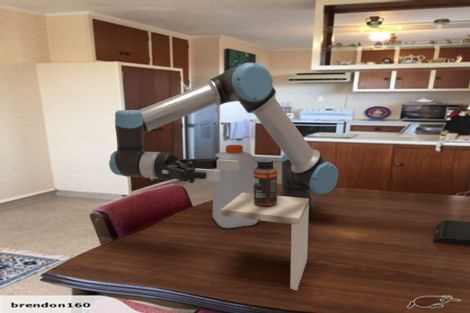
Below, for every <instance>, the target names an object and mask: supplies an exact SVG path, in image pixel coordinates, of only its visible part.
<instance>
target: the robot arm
mask: <svg viewBox="0 0 470 313" xmlns="http://www.w3.org/2000/svg"><path fill="white" fill-rule="evenodd" d="M276 95H277V91H276V89H275V87H274V86H273V77H272V74H271V72H270V71H269V69H268V68H266V66H264V65H262V64H260V63H257V62H246V63H242V64H240V65H237V66H233V67H231V68H229V69H227V70H226V71H224V72H222V73H220V74H218V75H217V76H214V77H212V78H210V79H207V82H206V83H205V84H202V85H200V86H197V87H195V88H191V89H189V90H187V91H184V92H182V93H179V94H177V95H174V96H171V97H169V98H166V99H164V100H161V101H158V102H156V103H154V104H151V105H148V106H146V107H143V108H140V109H138V110H137V109H127V110H125V109H124V110H123V109H120V110H116V112H115V114H114V117H115V118H114V123H115V124H114V127H115V134H116V150H115V151H113V152H112V153H111V155H110V159H109V161H108V166H109V169H110V170H111V172H112V173H113V174H114V175H117V176H122V177H127V178H128V177H130V178H131V177H133V178H147V179H148V178H149V179H150V180H151V181H153V180H154V179H159V180H165V181H166V180H167V181H168V180H169V181H171V180H173V179H175V180H177V181H182V182H185V183H186V182H189V184H194V183H195V180H196V181H207V182H214V181H216V182H219V181H220V170H235V171H238V170H239V161H234V160H219V158H218V157H216V158H213V157H212V158H211V157H210V158H180V159H179V160H178V158H177V156H176V154H174V153H172V152H159V151H145V145H144V142H145V141H144V134H145V133H148V132H149V131H152V130H154V129H157V128H160V127H162V126H164V125H167V124H169V123H172V122H174V121H176V120H179V119H182V118H184V117H186V116H189V115H193V113H196V112H199V111H201V110H204V109H206V108H209V107H212V106H214V105H215V106H222V105H224V104H227V103H232V102H239V104H240V105H241V106H242V108H244V110H245V111H246V113H248V114H254V116H255V117H256V118H257V120H258V121H259V122H260V123H261V125H262V126H263V127H264V129H265V130H266V131H267V133H268V134H269V135H270V137H271V138H272V139H273V140H274V142H275V144H276V145H277V146H278V147H279V149H280V150H281V151H282V152H283V154H282V156H281V190H280V193H279V195H278V196H286V197H297V198H307V199H309V212H308V214H309V213H312V212H314V210H315V201H314V197H313V195H312V193H314V194H318V195H325V194H328V193H330V192H331V191H332V190H333V189H334V188H335V187H336V185H337V183H338V179H339V171H338V168H337V167H336V165H335V164H333V163H331V162H329V161H327V160H326V159H325V158H324V156H323V155H322V154H321V152H320V151H319V150H318V149H312V147H311V146H310V145H309V143H308V142H307V140H306V139H305V137H304V136H303V135H302V133H301V132H300V130H298V128H297V127H296V125H295V124H294V122H293V121H292V119H291V118H290V117H289V115H288V114H287V112H286V111H285V110H284V108H283V107H282V106H281V104H280V103H279V101H278V100H277V99H276ZM215 168H217V169H220V170H215Z"/></svg>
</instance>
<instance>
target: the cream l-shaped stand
mask: <svg viewBox="0 0 470 313" xmlns="http://www.w3.org/2000/svg"><path fill="white" fill-rule="evenodd" d="M308 212H309V199H307V198H297V197H286V196H279V195H277V203H276V204H275V205H273V206H265V207H264V206H258V205H256V204H255V203H254V194H253V193H241V194H240V195H239V196H237V197H236V198H235V199H234V200H232V201H231V202H230V203H229V204H227V205H226V206H225V207H224V208H222V209H221V216H229V217H237V218H246V219H254V220H258V221H264V222H272V223H279V224H287V225H291V230H290V232H291V239H290V240H291V242H290V279H289V280H290V283H289V284H290V286H289V287H290V288H289V289H293V290H292V291H295V290H297V291H298V290H299V287H298V286H300V284H301V281H300V280H302V277H303V273H304V270H305V267H306V265H307V261H308V243H309V242H308V240H309V239H308V237H309V213H310V212H309V213H308ZM299 283H300V284H299Z"/></svg>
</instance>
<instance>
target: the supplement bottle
mask: <svg viewBox="0 0 470 313" xmlns="http://www.w3.org/2000/svg"><path fill="white" fill-rule="evenodd" d="M256 163H257V164H256V165H257V166H256V167H255V169H254V203H255V204H256V205H258V206H264V207H265V206H273V205H275V204H276V203H277V196H278V171H277V169H276V168H275V167H274V160H273V159H272V158H271V159H270V158H262V159H261V158H260V159H257V161H256Z"/></svg>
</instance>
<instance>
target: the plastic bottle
mask: <svg viewBox="0 0 470 313" xmlns="http://www.w3.org/2000/svg"><path fill="white" fill-rule="evenodd" d="M216 157H218V158H219V160H234V161H239V170H238V171H235V170H220V169H217V168H214V170H220V181H219V182H216V181H213V182H214V183H213V195H212V196H213V198H212V218H213V220H214V221H215V222H216V224H217V225H218V227H220V228H224V229H234V228H242V227H243V226H244V227H250V226H254V225H256V224H257V223H258V222H259V220H254V219H246V218H237V217H229V216H221V209H222V208H224V207H225V206H226V205H227V204H229V203H230V202H231V201H232V200H234V199H235V198H236V197H237V196H239V195H240V194H241V193H253V194H254V169H255V168H256V167H255V157H254V155H253V154H251V153H249V152H246V151H244V146H243V145H242V144H228V145H226V146H225V151H220V152H218V153H216V154H215V158H216Z"/></svg>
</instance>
